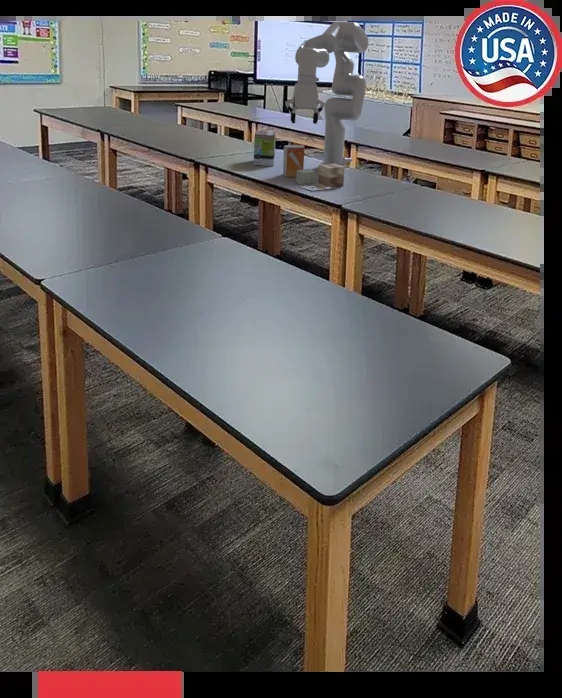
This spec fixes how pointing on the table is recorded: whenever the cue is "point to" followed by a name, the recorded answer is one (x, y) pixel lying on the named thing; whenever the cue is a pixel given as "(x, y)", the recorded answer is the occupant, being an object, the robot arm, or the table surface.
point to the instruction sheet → (317, 187)
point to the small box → (293, 160)
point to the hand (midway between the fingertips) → (304, 123)
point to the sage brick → (305, 176)
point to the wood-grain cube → (331, 175)
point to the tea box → (264, 148)
